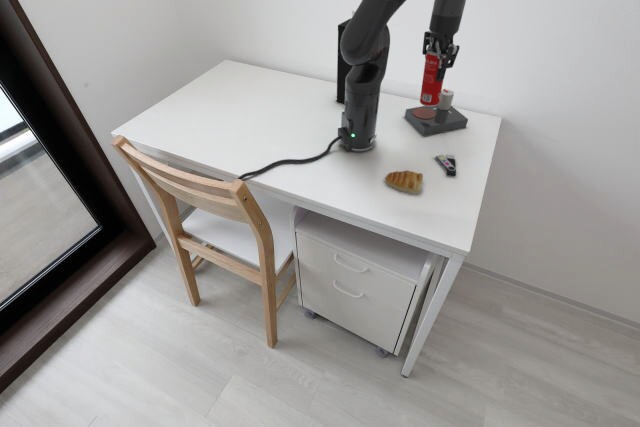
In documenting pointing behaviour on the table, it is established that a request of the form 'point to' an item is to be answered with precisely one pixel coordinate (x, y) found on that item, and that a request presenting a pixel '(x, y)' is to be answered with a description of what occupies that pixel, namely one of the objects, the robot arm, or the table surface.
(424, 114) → the burner
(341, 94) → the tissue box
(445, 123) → the hob
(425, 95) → the beverage can
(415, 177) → the pastry
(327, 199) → the table surface
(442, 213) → the table surface
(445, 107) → the hob knob
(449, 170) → the usb flash drive
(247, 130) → the table surface
